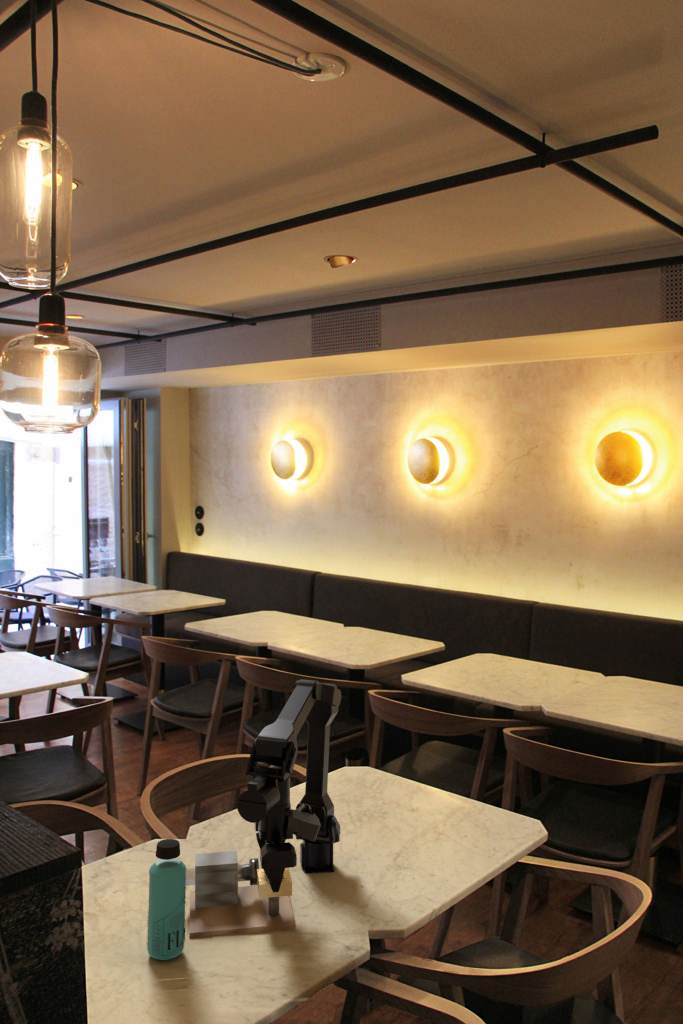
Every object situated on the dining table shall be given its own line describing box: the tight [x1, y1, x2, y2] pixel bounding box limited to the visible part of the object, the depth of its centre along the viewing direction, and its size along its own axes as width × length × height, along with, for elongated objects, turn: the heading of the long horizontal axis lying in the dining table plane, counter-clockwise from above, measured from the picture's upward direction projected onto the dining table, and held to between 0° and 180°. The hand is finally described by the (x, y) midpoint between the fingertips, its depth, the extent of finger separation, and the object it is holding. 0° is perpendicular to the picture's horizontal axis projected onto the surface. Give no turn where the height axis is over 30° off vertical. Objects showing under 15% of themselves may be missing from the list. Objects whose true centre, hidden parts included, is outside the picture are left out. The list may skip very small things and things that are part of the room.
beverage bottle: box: [145, 838, 187, 961], centre depth 136 cm, size 6×7×20 cm
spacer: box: [256, 868, 293, 898], centre depth 148 cm, size 6×6×2 cm
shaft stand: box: [188, 850, 296, 938], centre depth 151 cm, size 19×15×9 cm
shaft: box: [185, 857, 260, 887], centre depth 153 cm, size 15×5×5 cm, turn 100°
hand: (274, 883), depth 148 cm, fingers closed on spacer, 6 cm apart
